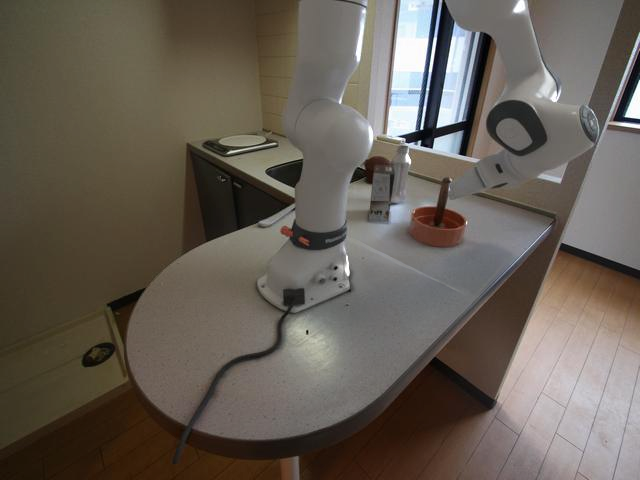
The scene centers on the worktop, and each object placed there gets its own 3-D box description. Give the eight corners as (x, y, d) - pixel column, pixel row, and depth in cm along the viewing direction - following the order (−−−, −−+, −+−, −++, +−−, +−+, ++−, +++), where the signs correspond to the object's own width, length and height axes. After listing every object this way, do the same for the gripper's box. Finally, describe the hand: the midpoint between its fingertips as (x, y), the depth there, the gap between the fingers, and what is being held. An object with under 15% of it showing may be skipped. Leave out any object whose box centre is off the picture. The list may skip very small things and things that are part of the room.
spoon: (318, 190, 123) (317, 184, 122) (334, 194, 119) (334, 188, 118) (251, 227, 99) (250, 219, 98) (270, 234, 95) (269, 226, 94)
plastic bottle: (408, 203, 114) (418, 147, 104) (395, 207, 111) (403, 150, 101) (395, 197, 119) (403, 143, 109) (382, 201, 116) (389, 145, 105)
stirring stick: (438, 238, 91) (451, 181, 82) (424, 233, 94) (436, 177, 85) (445, 233, 94) (459, 177, 85) (431, 228, 97) (443, 173, 88)
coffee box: (388, 223, 100) (395, 174, 92) (368, 221, 101) (373, 172, 93) (388, 211, 108) (395, 165, 100) (369, 209, 109) (374, 163, 101)
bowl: (446, 255, 85) (451, 235, 82) (398, 234, 94) (401, 216, 91) (470, 236, 94) (475, 218, 91) (424, 219, 103) (428, 202, 100)
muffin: (359, 183, 131) (361, 159, 126) (365, 174, 140) (368, 152, 135) (388, 187, 128) (391, 162, 123) (392, 178, 137) (395, 155, 132)
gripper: (532, 149, 74) (485, 176, 87) (475, 160, 66) (430, 189, 78) (545, 173, 73) (494, 197, 86) (487, 187, 65) (441, 212, 77)
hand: (463, 193), depth 82 cm, fingers open, 8 cm apart
